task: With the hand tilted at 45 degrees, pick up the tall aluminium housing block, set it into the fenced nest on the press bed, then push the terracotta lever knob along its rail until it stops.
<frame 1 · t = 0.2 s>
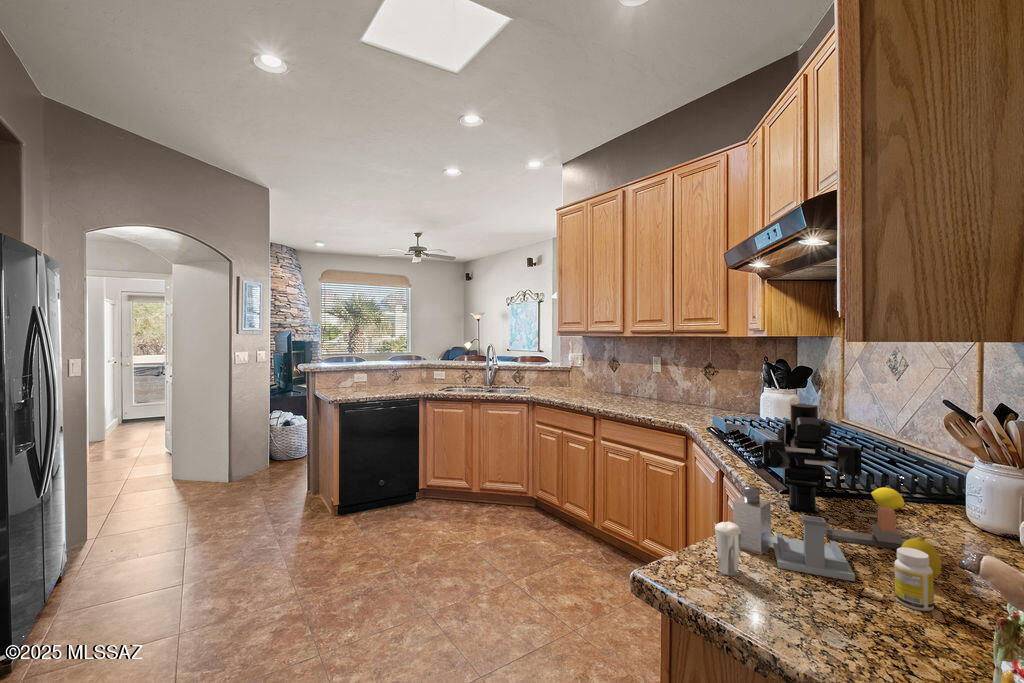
hand: (814, 467, 96), 17 cm above the countertop, tool horizontal, fingers open, 9 cm apart
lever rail: (869, 541, 98), on the countertop
supplement bottle: (914, 604, 74), on the countertop
press bed: (809, 559, 90), on the countertop
housing: (752, 546, 96), on the countertop
lever: (886, 523, 96), point 4 cm above the countertop, slide at 0.0 cm
milkshake: (726, 572, 85), on the countertop
lemon 2: (887, 509, 118), on the countertop
lemon: (920, 583, 81), on the countertop
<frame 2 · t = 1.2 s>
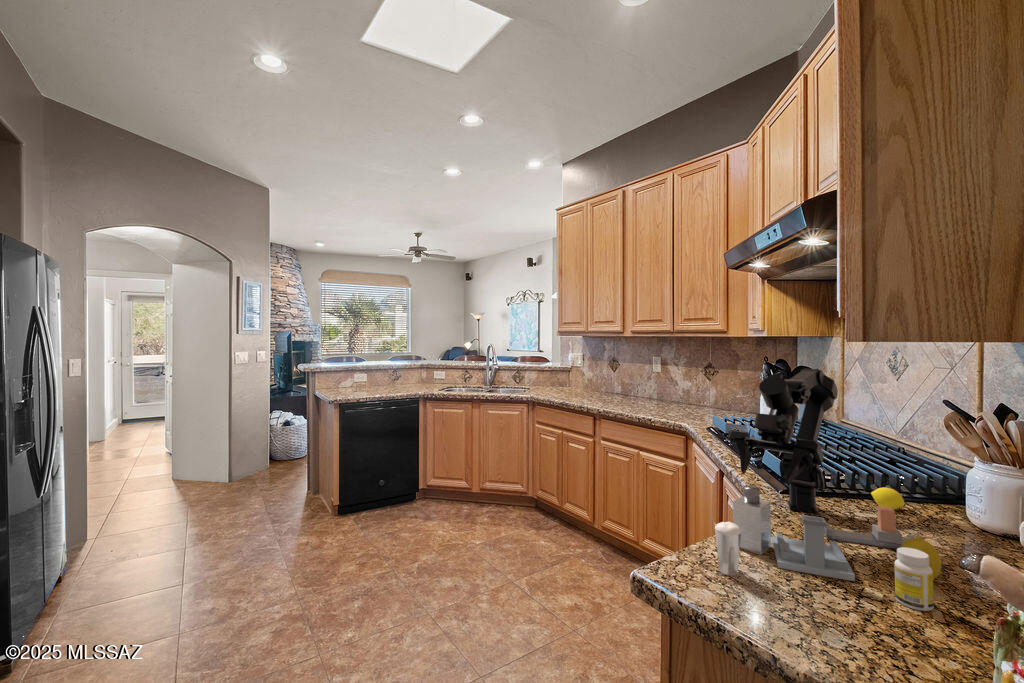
hand: (764, 477, 101), 13 cm above the countertop, tool tilted 45°, fingers open, 9 cm apart
nothing on the countertop moved.
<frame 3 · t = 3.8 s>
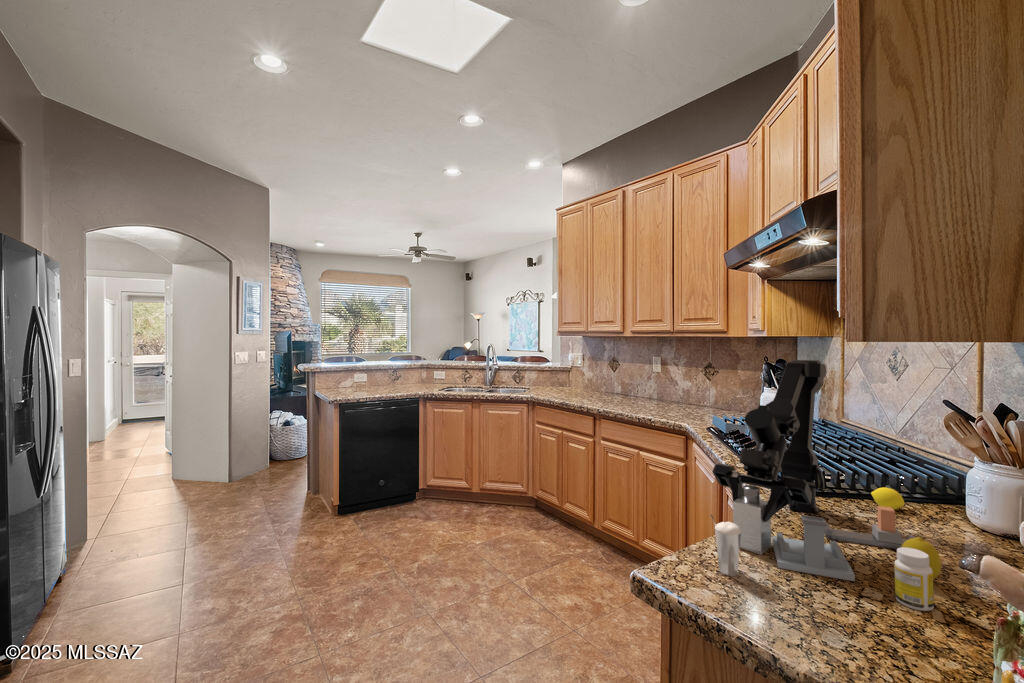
hand: (749, 516, 95), 7 cm above the countertop, tool tilted 45°, fingers closed on housing, 5 cm apart
housing: (752, 546, 96), on the countertop, touching gripper
everything else where it was.
when the fingers open (9 cm above the countertop, at t = 6.9 s): housing drops 1 cm, resting on press bed.
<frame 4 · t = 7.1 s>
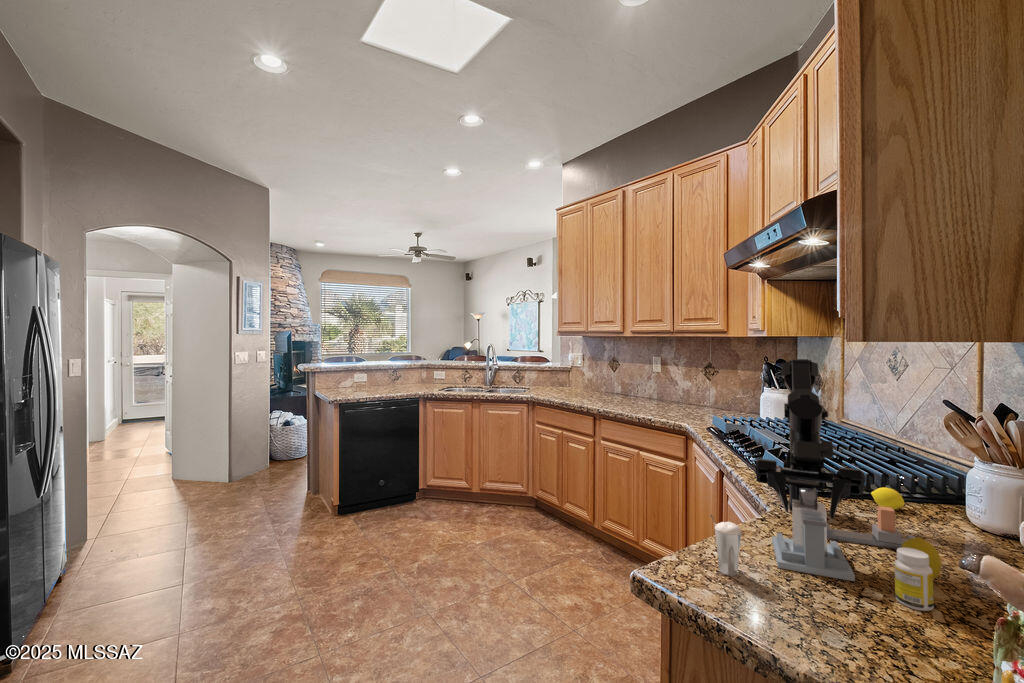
hand: (809, 514, 89), 9 cm above the countertop, tool tilted 45°, fingers open, 7 cm apart
housing: (809, 553, 90), point 1 cm above the countertop, touching press bed
everything else where it was.
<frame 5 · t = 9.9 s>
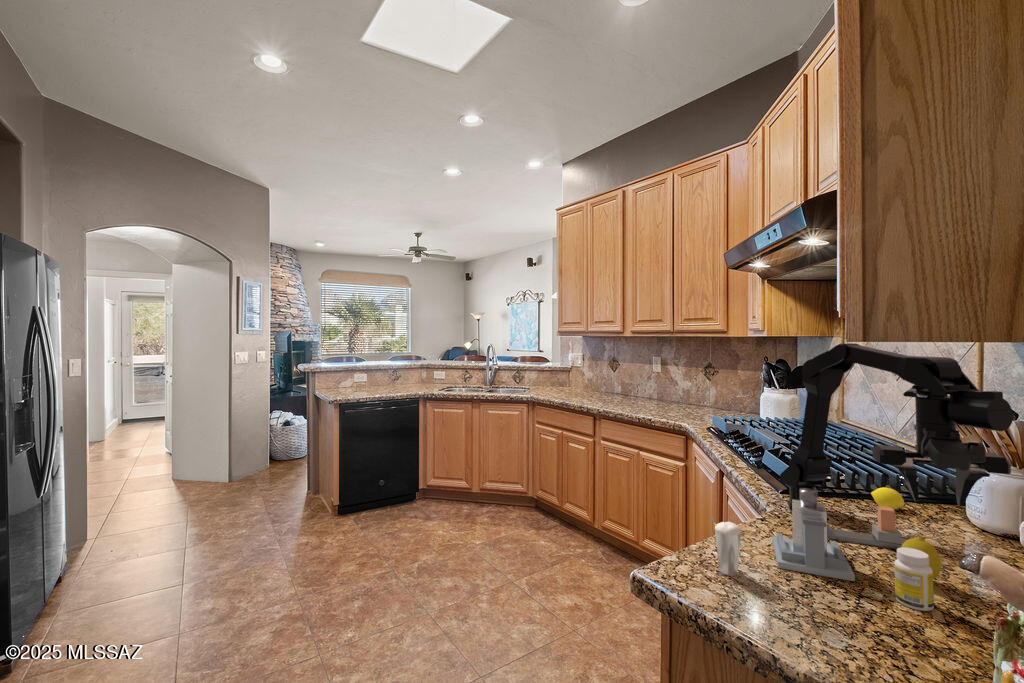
hand: (937, 503, 87), 12 cm above the countertop, tool pointing down, fingers open, 6 cm apart
nothing on the countertop moved.
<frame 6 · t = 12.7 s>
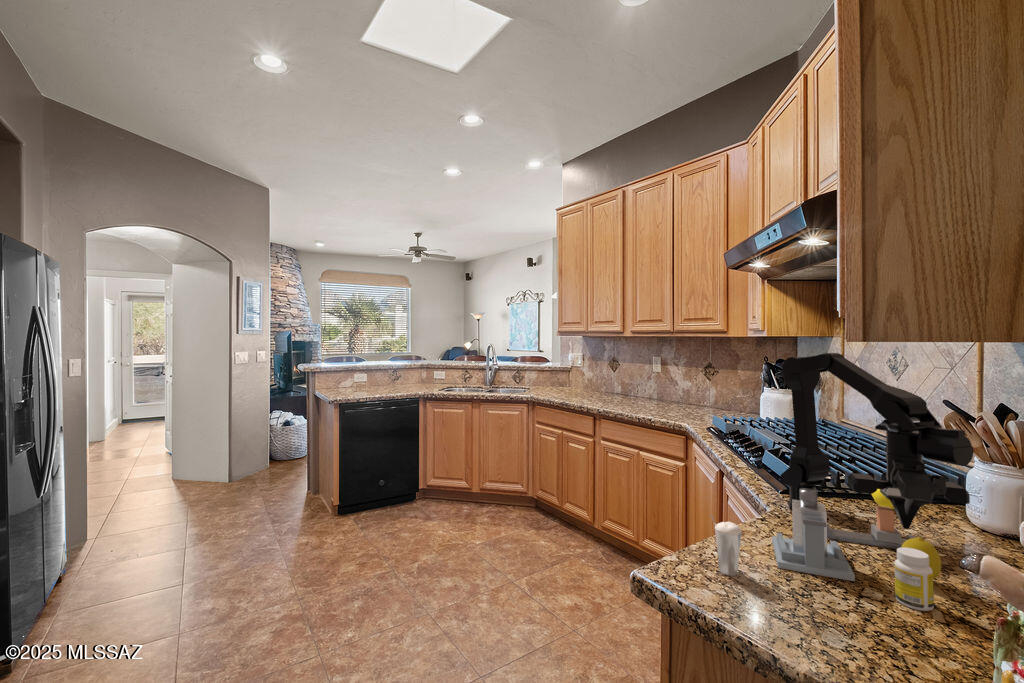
hand: (905, 528, 95), 4 cm above the countertop, tool pointing down, fingers closed
lever: (885, 523, 97), point 4 cm above the countertop, slide at 0.2 cm, touching gripper
everything else where it was.
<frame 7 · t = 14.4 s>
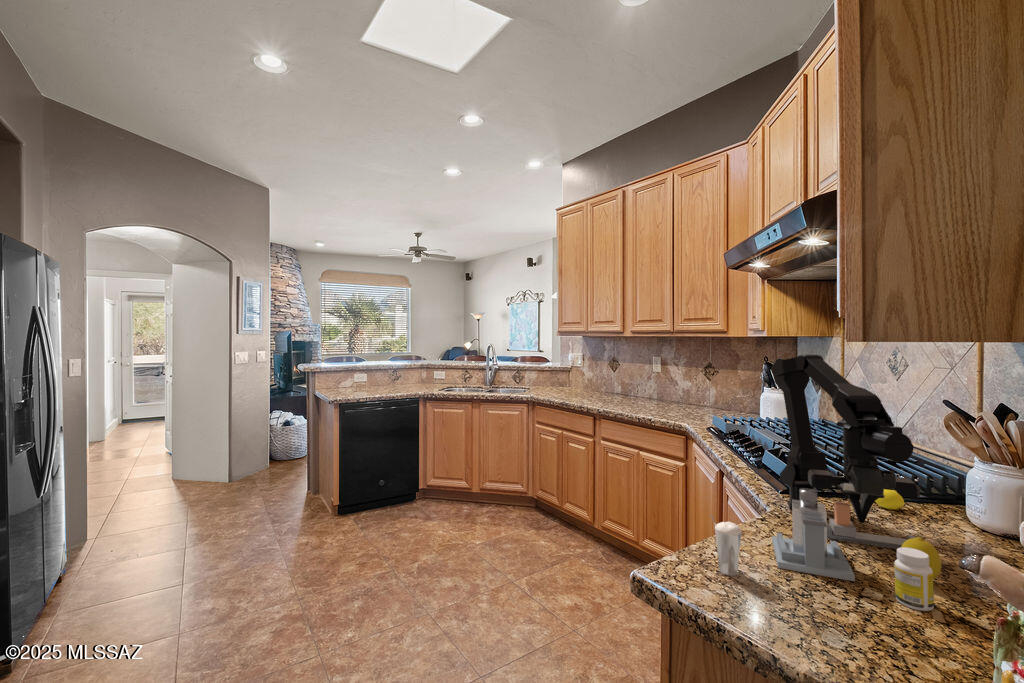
hand: (861, 522, 98), 4 cm above the countertop, tool pointing down, fingers closed
lever: (842, 517, 100), point 4 cm above the countertop, slide at 7.8 cm, touching gripper
everything else where it was.
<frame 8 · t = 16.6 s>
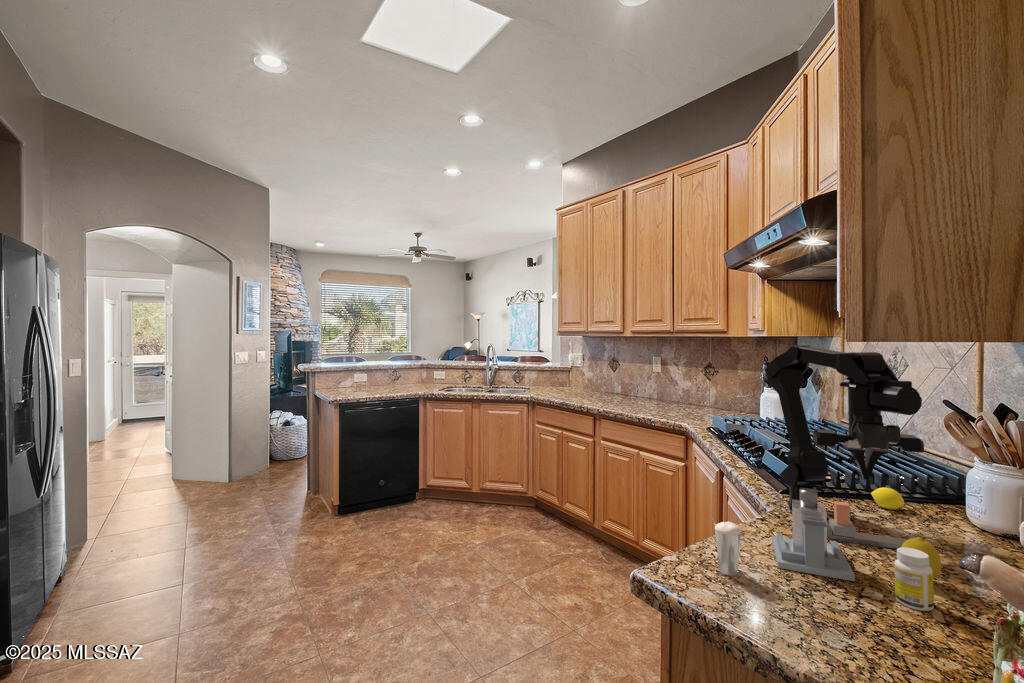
hand: (865, 479, 100), 13 cm above the countertop, tool pointing down, fingers closed
lever: (842, 517, 100), point 4 cm above the countertop, slide at 7.8 cm
everything else where it was.
at the end: housing inside the target area on the press bed (0.0 cm from its centre), point 1.2 cm above the press bed's base; housing tilted 0°; lever slide at 7.8 cm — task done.
